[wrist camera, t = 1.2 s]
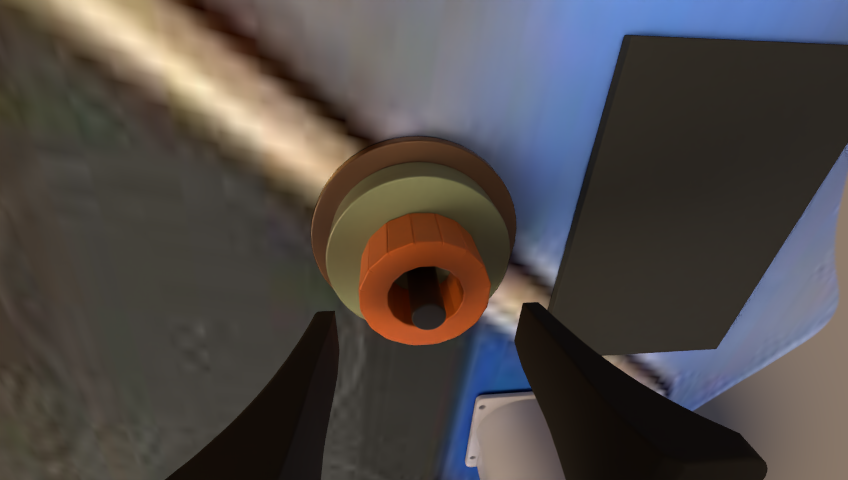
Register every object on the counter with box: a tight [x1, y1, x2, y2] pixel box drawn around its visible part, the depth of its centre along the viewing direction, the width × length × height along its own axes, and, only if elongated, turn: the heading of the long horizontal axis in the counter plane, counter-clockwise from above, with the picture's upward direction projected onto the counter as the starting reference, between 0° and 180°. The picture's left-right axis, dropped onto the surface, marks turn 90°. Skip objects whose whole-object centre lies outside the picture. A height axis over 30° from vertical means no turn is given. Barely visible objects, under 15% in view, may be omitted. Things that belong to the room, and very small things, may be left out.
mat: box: [548, 35, 848, 356], centre depth 21 cm, size 20×14×1 cm
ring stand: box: [311, 136, 516, 330], centre depth 17 cm, size 11×11×7 cm
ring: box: [359, 213, 491, 345], centre depth 16 cm, size 6×6×3 cm
